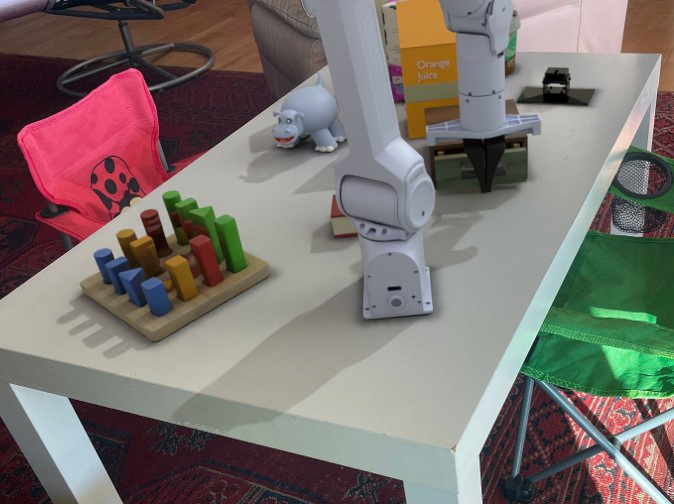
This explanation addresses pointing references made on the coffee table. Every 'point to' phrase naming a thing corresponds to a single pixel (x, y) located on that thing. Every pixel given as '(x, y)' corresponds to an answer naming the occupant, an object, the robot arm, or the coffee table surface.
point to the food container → (512, 44)
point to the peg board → (173, 269)
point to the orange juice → (426, 61)
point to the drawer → (461, 174)
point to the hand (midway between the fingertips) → (485, 189)
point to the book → (341, 222)
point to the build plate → (556, 90)
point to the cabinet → (453, 113)
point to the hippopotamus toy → (309, 118)
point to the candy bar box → (393, 49)
